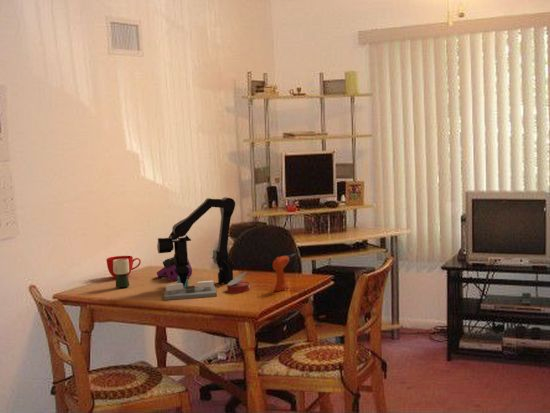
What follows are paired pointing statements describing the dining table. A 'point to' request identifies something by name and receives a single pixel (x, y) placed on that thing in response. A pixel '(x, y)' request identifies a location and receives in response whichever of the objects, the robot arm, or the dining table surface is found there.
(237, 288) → the canned food
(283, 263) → the toy drill
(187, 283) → the block
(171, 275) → the mounting bracket
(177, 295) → the plate
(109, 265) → the ceramic cup
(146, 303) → the dining table surface
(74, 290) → the dining table surface
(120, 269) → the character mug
